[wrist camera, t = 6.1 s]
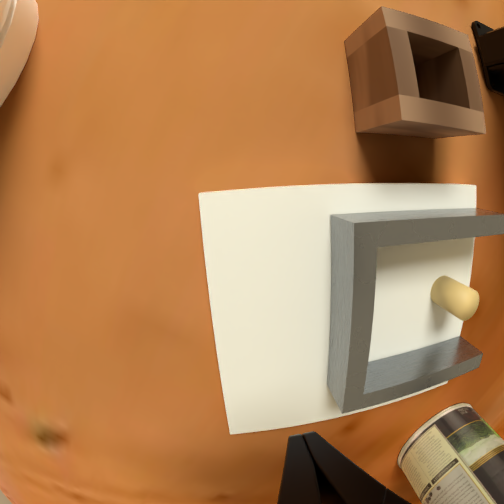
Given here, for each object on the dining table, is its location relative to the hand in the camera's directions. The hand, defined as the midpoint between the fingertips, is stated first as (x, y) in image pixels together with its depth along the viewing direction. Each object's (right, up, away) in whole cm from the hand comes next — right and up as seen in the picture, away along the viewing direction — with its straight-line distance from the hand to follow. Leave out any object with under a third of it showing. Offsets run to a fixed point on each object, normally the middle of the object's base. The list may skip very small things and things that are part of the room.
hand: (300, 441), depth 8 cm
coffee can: (+18, -14, +16) cm, 28 cm away
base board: (+5, +2, +11) cm, 12 cm away
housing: (+9, +3, +9) cm, 13 cm away
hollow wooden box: (+7, +16, +7) cm, 19 cm away
